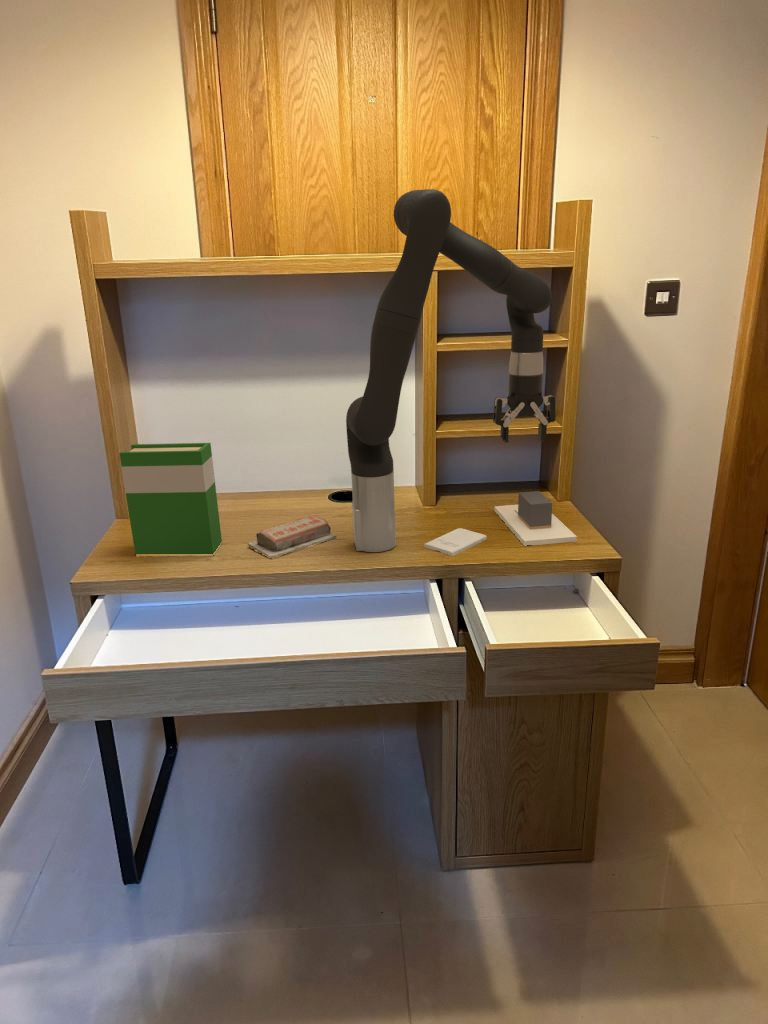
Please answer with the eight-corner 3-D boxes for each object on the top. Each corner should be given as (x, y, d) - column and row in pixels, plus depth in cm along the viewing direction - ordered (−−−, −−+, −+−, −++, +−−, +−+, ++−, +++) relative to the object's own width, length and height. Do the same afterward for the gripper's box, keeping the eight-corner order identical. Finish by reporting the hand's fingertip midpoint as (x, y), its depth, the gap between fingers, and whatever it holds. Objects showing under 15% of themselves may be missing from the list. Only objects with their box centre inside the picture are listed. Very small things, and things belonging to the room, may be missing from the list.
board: (524, 546, 165) (524, 540, 165) (494, 510, 188) (494, 506, 187) (576, 541, 167) (576, 536, 166) (540, 507, 189) (540, 502, 189)
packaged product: (311, 510, 180) (336, 520, 173) (312, 529, 182) (337, 540, 174) (245, 529, 169) (269, 541, 162) (247, 549, 171) (271, 561, 164)
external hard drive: (486, 542, 170) (452, 558, 162) (458, 533, 176) (423, 549, 167) (486, 535, 170) (452, 551, 161) (458, 527, 175) (423, 542, 167)
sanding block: (551, 527, 172) (552, 502, 170) (530, 529, 171) (530, 504, 169) (538, 514, 181) (538, 491, 179) (517, 516, 180) (518, 492, 178)
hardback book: (135, 557, 168) (119, 452, 160) (147, 544, 175) (132, 444, 167) (213, 556, 166) (200, 451, 159) (222, 543, 173) (210, 442, 166)
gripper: (500, 375, 166) (498, 446, 171) (562, 372, 168) (558, 443, 173) (491, 370, 173) (489, 439, 178) (550, 367, 175) (547, 435, 180)
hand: (523, 441), depth 176 cm, fingers open, 8 cm apart
